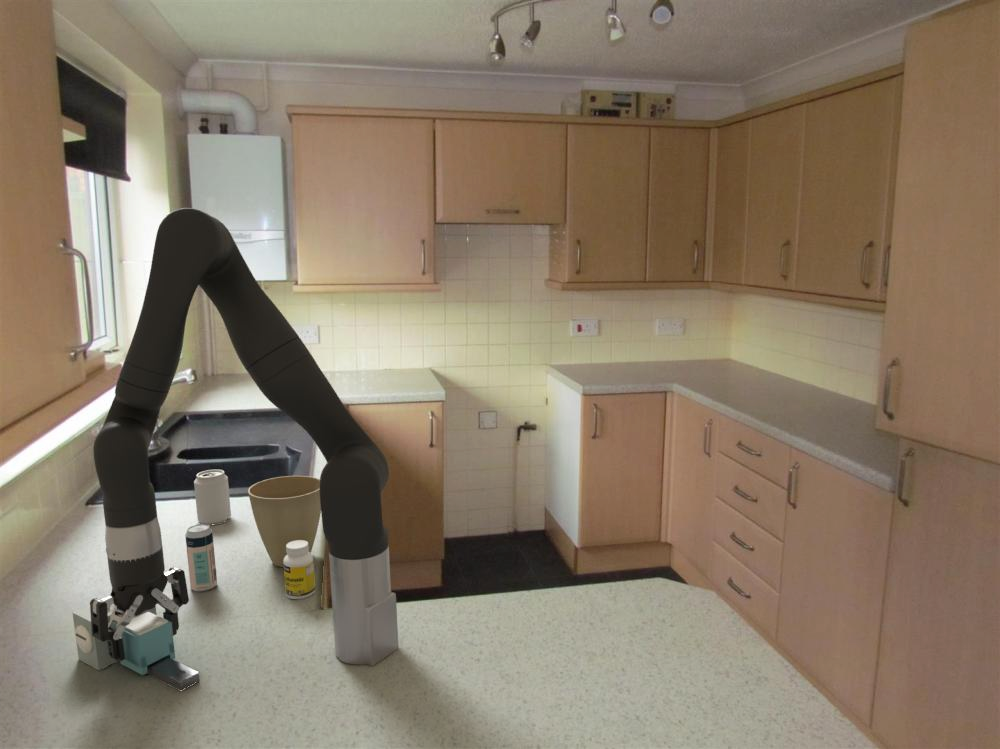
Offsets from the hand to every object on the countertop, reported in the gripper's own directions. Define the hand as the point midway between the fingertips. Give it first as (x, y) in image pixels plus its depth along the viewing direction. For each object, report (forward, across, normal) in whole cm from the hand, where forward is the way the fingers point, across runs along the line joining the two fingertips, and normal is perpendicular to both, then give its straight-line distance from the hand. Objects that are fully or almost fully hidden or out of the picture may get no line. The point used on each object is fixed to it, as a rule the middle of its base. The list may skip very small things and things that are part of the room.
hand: (146, 646), depth 113 cm
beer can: (+3, +21, +16) cm, 27 cm away
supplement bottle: (+3, +29, -2) cm, 29 cm away
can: (+3, +44, +45) cm, 63 cm away
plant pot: (+3, +38, +11) cm, 40 cm away
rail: (+3, 0, -3) cm, 4 cm away
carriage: (+3, 0, 0) cm, 3 cm away
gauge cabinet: (+3, 0, +8) cm, 9 cm away
